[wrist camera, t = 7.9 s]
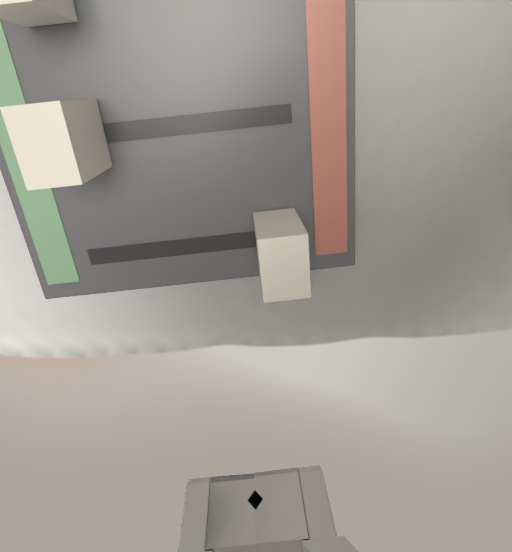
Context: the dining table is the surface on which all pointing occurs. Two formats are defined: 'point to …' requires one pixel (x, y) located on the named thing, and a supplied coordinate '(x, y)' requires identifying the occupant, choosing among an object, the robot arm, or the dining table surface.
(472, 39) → the dining table surface
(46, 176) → the block
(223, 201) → the panel
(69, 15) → the inner breaker
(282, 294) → the block
